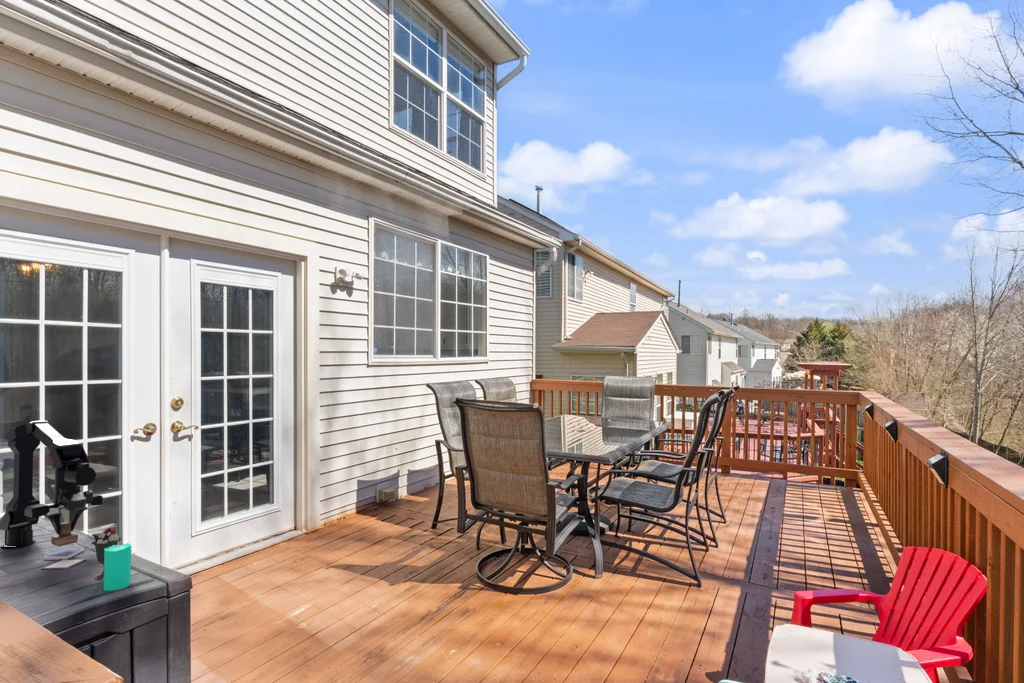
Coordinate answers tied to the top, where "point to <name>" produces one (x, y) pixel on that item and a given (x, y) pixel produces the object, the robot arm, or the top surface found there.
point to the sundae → (105, 544)
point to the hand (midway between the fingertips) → (64, 532)
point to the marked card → (64, 564)
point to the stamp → (64, 535)
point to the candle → (117, 567)
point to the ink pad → (63, 554)
